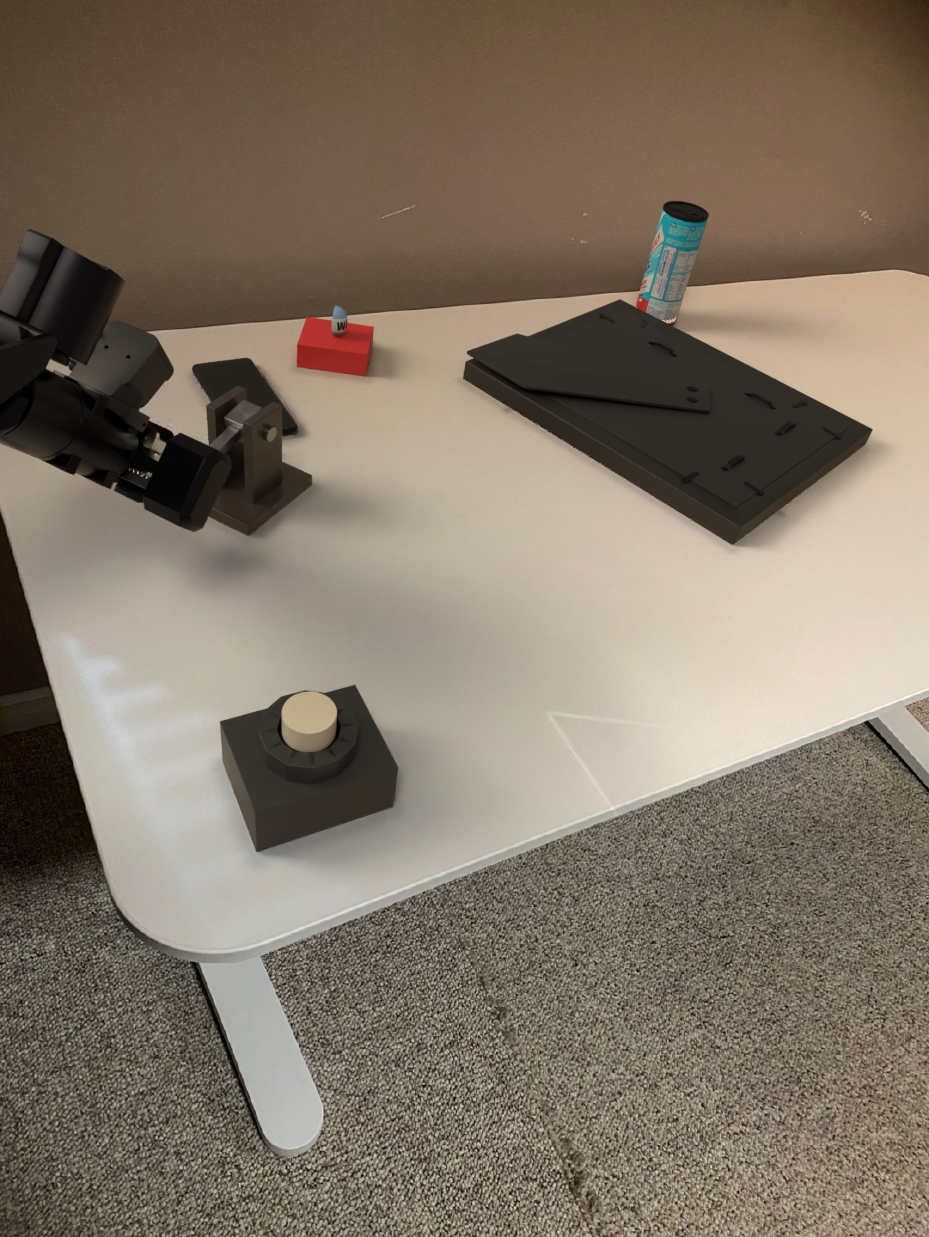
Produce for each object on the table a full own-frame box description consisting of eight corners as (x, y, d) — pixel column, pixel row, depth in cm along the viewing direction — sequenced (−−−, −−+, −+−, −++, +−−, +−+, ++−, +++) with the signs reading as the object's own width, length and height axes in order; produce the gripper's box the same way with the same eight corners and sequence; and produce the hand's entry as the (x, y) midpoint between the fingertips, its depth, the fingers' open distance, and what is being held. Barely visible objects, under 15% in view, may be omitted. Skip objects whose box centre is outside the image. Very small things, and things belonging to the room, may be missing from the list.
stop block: (256, 852, 62) (254, 796, 58) (222, 761, 67) (218, 703, 63) (393, 807, 66) (401, 751, 62) (352, 724, 71) (356, 667, 67)
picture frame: (462, 378, 110) (732, 545, 94) (466, 350, 108) (744, 517, 92) (615, 314, 128) (864, 445, 112) (622, 289, 126) (878, 420, 109)
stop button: (292, 759, 61) (292, 739, 59) (274, 718, 63) (274, 699, 62) (343, 743, 62) (345, 724, 61) (324, 705, 64) (325, 685, 63)
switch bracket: (248, 536, 85) (245, 446, 78) (179, 502, 87) (170, 412, 80) (312, 484, 92) (314, 398, 85) (246, 454, 94) (243, 368, 87)
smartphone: (250, 356, 106) (300, 427, 97) (250, 362, 106) (299, 433, 98) (189, 363, 103) (235, 437, 94) (190, 370, 103) (235, 444, 95)
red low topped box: (372, 348, 113) (375, 298, 108) (365, 376, 108) (369, 325, 103) (306, 338, 112) (307, 288, 108) (296, 366, 107) (297, 315, 103)
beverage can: (657, 307, 132) (689, 199, 122) (683, 327, 128) (718, 217, 118) (624, 312, 129) (654, 202, 119) (650, 332, 126) (682, 221, 116)
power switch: (179, 524, 79) (171, 499, 76) (150, 510, 80) (140, 484, 77) (271, 432, 86) (266, 406, 83) (243, 420, 86) (237, 393, 84)
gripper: (207, 355, 60) (305, 427, 75) (-7, 263, 65) (126, 348, 80) (134, 511, 60) (246, 552, 75) (-74, 408, 65) (71, 465, 80)
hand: (171, 474), depth 78 cm, fingers closed, pressing on power switch
